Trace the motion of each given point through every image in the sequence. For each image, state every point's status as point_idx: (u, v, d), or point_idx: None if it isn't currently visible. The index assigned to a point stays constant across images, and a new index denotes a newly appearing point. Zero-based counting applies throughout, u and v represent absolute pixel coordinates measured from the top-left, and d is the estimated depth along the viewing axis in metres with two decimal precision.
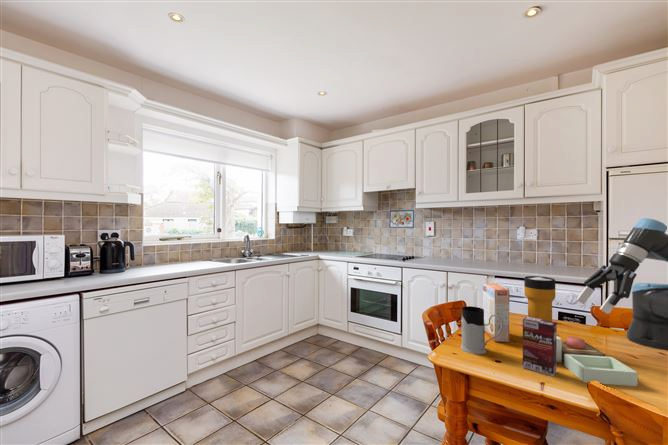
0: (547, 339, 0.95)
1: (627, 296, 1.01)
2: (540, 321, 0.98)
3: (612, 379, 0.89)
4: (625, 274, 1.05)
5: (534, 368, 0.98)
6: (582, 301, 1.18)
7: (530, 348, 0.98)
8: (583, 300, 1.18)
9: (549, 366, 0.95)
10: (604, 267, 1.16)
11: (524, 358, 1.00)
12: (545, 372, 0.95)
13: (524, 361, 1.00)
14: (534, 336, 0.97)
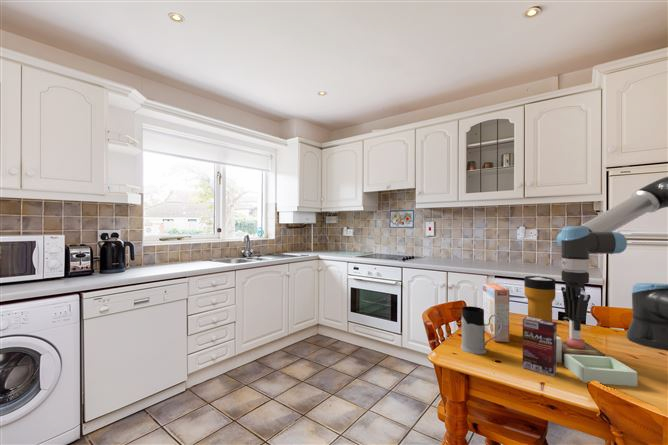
0: (547, 339, 0.95)
1: (583, 320, 1.03)
2: (540, 321, 0.98)
3: (612, 379, 0.89)
4: (579, 298, 1.02)
5: (534, 368, 0.98)
6: None
7: (530, 348, 0.98)
8: None
9: (549, 366, 0.95)
10: (563, 288, 1.12)
11: (524, 358, 1.00)
12: (545, 372, 0.95)
13: (524, 361, 1.00)
14: (534, 336, 0.97)
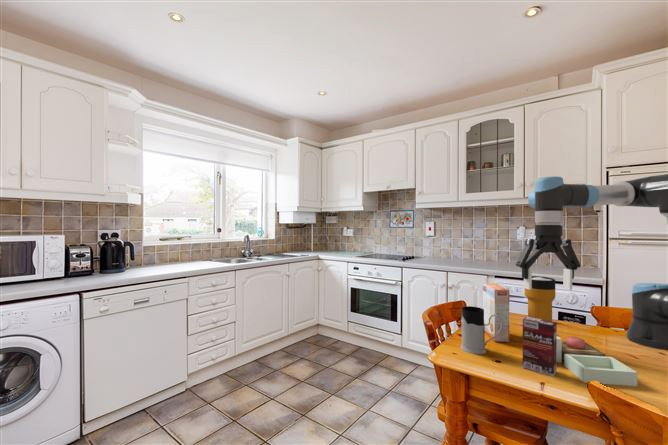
0: (547, 339, 0.95)
1: (519, 265, 1.00)
2: (540, 321, 0.98)
3: (612, 379, 0.89)
4: None
5: (534, 368, 0.98)
6: (567, 287, 1.01)
7: (530, 348, 0.98)
8: (567, 285, 1.01)
9: (549, 366, 0.95)
10: None
11: (524, 358, 1.00)
12: (545, 372, 0.95)
13: (524, 361, 1.00)
14: (534, 336, 0.97)
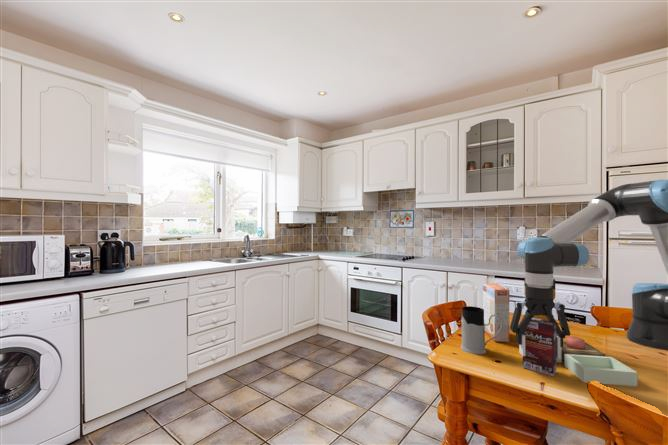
0: (547, 339, 0.95)
1: (512, 330, 0.99)
2: (540, 321, 0.98)
3: (612, 379, 0.89)
4: None
5: (534, 368, 0.98)
6: (556, 355, 0.97)
7: (530, 348, 0.98)
8: None
9: (549, 366, 0.95)
10: None
11: (524, 358, 1.00)
12: (545, 372, 0.95)
13: (524, 361, 1.00)
14: (534, 336, 0.97)
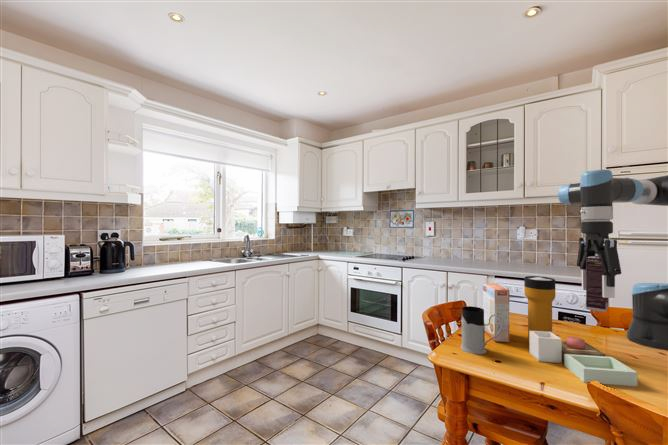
0: None
1: (619, 273, 0.86)
2: None
3: (612, 379, 0.89)
4: (605, 246, 0.89)
5: (606, 307, 0.92)
6: None
7: None
8: None
9: None
10: (581, 239, 1.00)
11: (605, 301, 0.90)
12: (607, 306, 0.95)
13: (605, 304, 0.91)
14: None
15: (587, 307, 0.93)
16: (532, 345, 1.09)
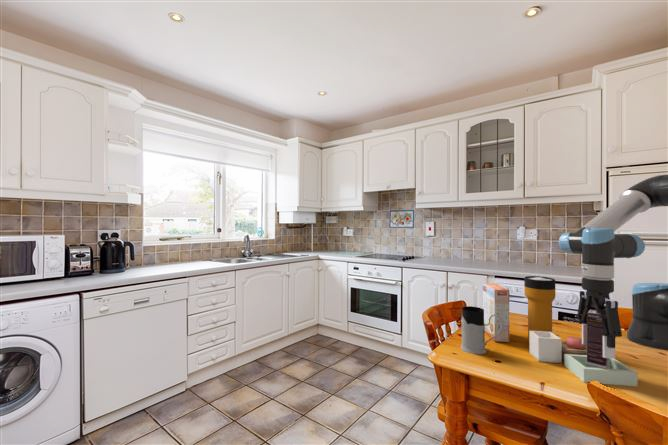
0: None
1: (620, 335, 0.86)
2: None
3: (612, 379, 0.89)
4: (606, 306, 0.89)
5: (607, 363, 0.92)
6: None
7: None
8: None
9: None
10: (582, 293, 1.00)
11: (606, 358, 0.90)
12: (608, 360, 0.94)
13: (606, 361, 0.90)
14: None
15: (588, 362, 0.93)
16: (532, 345, 1.09)
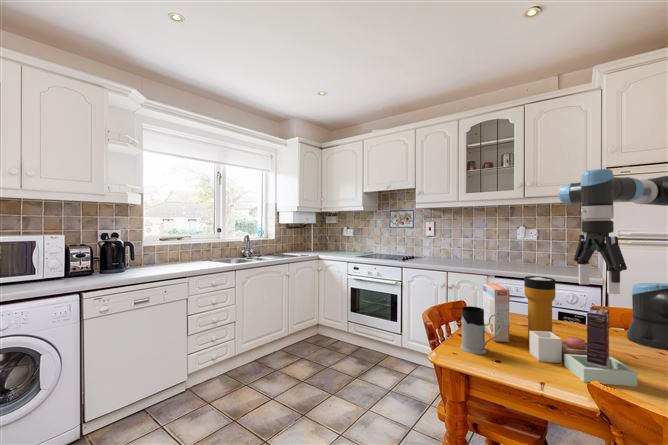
0: None
1: (625, 268, 0.85)
2: (601, 311, 0.94)
3: (612, 379, 0.89)
4: (606, 243, 0.89)
5: (607, 362, 0.92)
6: (586, 282, 1.01)
7: (607, 343, 0.92)
8: (585, 281, 1.01)
9: (608, 352, 0.95)
10: (582, 237, 1.01)
11: (606, 358, 0.90)
12: (608, 360, 0.94)
13: (606, 361, 0.90)
14: (608, 328, 0.92)
15: (588, 362, 0.93)
16: (532, 345, 1.09)
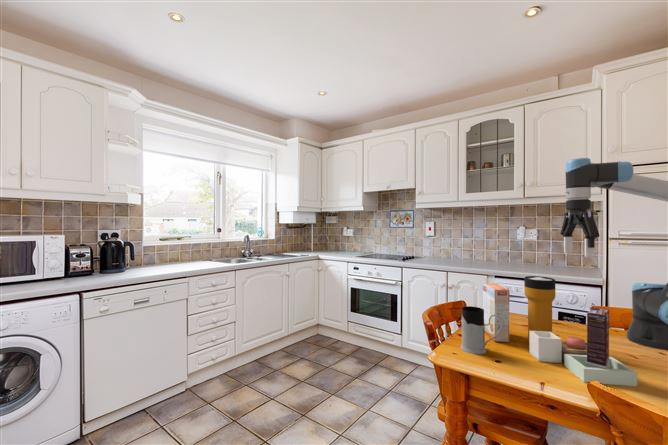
0: None
1: (598, 235, 1.08)
2: (601, 311, 0.94)
3: (612, 379, 0.89)
4: (584, 216, 1.12)
5: (607, 363, 0.92)
6: (569, 251, 1.24)
7: (607, 343, 0.92)
8: (569, 250, 1.24)
9: None
10: (566, 214, 1.23)
11: (606, 358, 0.90)
12: (608, 360, 0.94)
13: (606, 361, 0.90)
14: (608, 328, 0.92)
15: (588, 362, 0.93)
16: (532, 345, 1.09)
